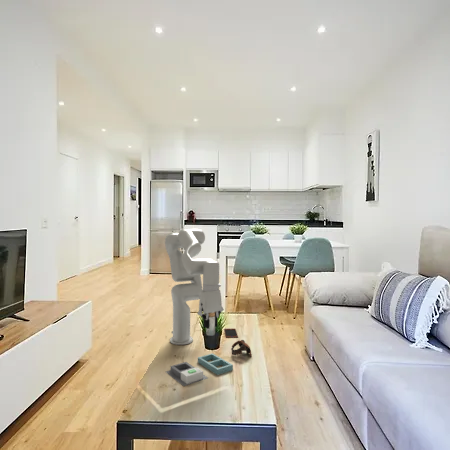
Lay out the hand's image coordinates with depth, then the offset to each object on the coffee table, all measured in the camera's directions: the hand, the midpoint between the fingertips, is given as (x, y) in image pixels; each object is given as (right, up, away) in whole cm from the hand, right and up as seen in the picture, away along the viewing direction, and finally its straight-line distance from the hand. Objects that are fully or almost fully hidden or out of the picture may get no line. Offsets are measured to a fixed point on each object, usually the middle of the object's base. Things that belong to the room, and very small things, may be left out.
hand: (210, 326), depth 162 cm
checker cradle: (-10, -19, -11) cm, 24 cm away
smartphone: (+10, -18, +45) cm, 50 cm away
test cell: (0, -4, 0) cm, 4 cm away
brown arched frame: (+15, -18, +14) cm, 28 cm away
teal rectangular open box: (+2, -19, -2) cm, 19 cm away
